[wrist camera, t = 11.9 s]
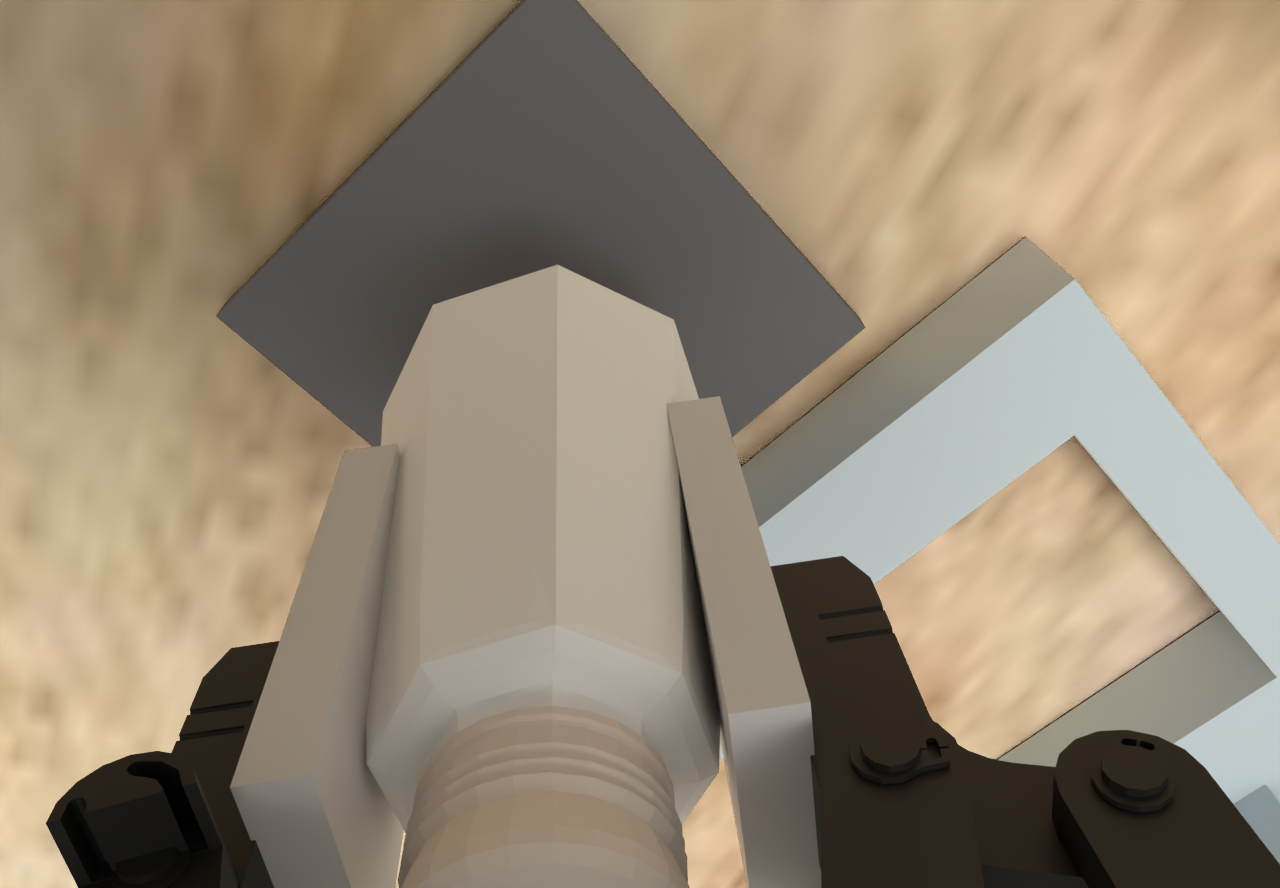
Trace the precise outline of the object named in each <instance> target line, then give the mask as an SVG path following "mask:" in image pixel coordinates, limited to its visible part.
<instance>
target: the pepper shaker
mask: <svg viewBox="0 0 1280 888" xmlns="http://www.w3.org/2000/svg"><path fill="white" fill-rule="evenodd" d="M697 399H699V397H698V394H697V391H696V388H695V384H694V381H693V378H692V375H691V372H690V369H689V366H688V363H687V359H686V356H685V353H684V350H683V347H682V344H681V341H680V337H679V334H678V331H677V328H676V325H675V322H674V319H672V318H669V317H667V316H665V315H663V314H661V313H659V312H657V311H655V310H653V309H650V308H648V307H646V306H644V305H642V304H640V303H638V302H636V301H633V300H631V299H629V298H627V297H625V296H623V295H621V294H619V293H617V292H614V291H612V290H610V289H608V288H606V287H604V286H602V285H600V284H598V283H595V282H593V281H591V280H589V279H587V278H585V277H583V276H581V275H579V274H576V273H574V272H572V271H570V270H568V269H566V268H564V267H562V266H559V265H555V266H552V267H548V268H545V269H542V270H539V271H536V272H533V273H530V274H527V275H524V276H521V277H517V278H514V279H511V280H508V281H505V282H502V283H499V284H496V285H493V286H490V287H486V288H483V289H480V290H477V291H474V292H471V293H468V294H465V295H462V296H459V297H455V298H452V299H449V300H446V301H443V302H440V303H437V304H434V305H433V306H432V308H431V310H430V312H429V314H428V316H427V318H426V321H425V323H424V325H423V327H422V329H421V331H420V333H419V336H418V338H417V340H416V342H415V344H414V346H413V348H412V350H411V353H410V355H409V357H408V359H407V361H406V363H405V365H404V368H403V370H402V372H401V374H400V376H399V378H398V380H397V382H396V385H395V387H394V389H393V391H392V393H391V395H390V397H389V399H388V402H387V404H386V406H385V408H384V410H383V418H382V435H381V446H383V445H390V444H397V443H398V447H399V451H400V462H399V470H398V478H397V485H396V493H395V501H394V509H393V516H392V524H391V532H390V540H389V547H388V555H387V563H386V571H385V578H384V586H383V594H382V602H381V610H380V617H379V625H378V633H377V640H376V648H375V655H374V663H373V671H372V678H371V686H370V693H369V701H368V708H367V716H366V752H367V765H368V767H369V769H370V771H371V772H372V774H373V776H374V778H375V780H376V781H377V783H378V785H379V787H380V788H381V790H382V792H383V794H384V795H385V797H386V799H387V801H388V802H389V804H390V806H391V808H392V810H393V811H394V813H395V815H396V817H397V818H398V820H399V822H400V824H401V825H402V827H403V829H404V831H405V833H406V836H405V842H404V849H403V854H402V860H401V867H400V872H399V878H398V883H399V888H689V885H688V877H687V856H686V853H685V843H684V838H683V836H682V823H683V822H684V821H685V819H686V818H687V816H688V815H689V813H690V812H691V811H692V809H693V808H694V806H695V805H696V804H697V802H698V801H699V799H700V798H701V796H702V795H703V794H704V792H705V791H706V789H707V788H708V787H709V785H710V784H711V782H712V781H713V779H714V778H715V777H716V775H717V774H718V772H719V754H720V727H721V723H720V717H719V711H718V705H717V699H716V693H715V687H714V681H713V675H712V669H711V663H710V657H709V651H708V645H707V639H706V633H705V627H704V621H703V615H702V608H701V602H700V596H699V590H698V584H697V578H696V572H695V566H694V560H693V554H692V548H691V542H690V536H689V529H688V523H687V517H686V511H685V505H684V499H683V493H682V487H681V481H680V474H679V468H678V463H677V457H676V452H675V447H674V441H673V436H672V431H671V425H670V420H669V414H668V409H667V404H669V403H676V402H683V401H690V400H697Z"/></svg>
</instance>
